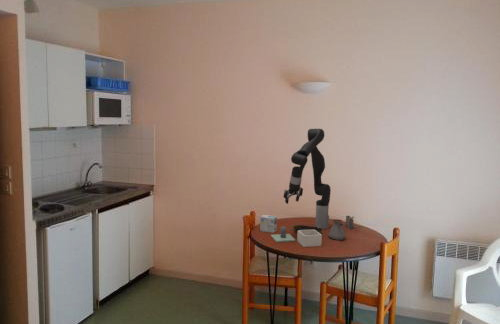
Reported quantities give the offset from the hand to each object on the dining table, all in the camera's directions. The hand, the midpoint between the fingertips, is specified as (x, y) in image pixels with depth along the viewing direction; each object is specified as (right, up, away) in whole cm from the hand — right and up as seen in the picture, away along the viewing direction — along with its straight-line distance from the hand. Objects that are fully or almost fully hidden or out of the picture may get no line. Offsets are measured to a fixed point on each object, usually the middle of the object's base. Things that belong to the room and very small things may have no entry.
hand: (291, 202), depth 275 cm
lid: (-7, -25, -9) cm, 27 cm away
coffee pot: (+30, -25, -10) cm, 41 cm away
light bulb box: (-16, -22, +11) cm, 29 cm away
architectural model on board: (+46, -22, +25) cm, 57 cm away
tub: (+9, -26, -17) cm, 33 cm away
